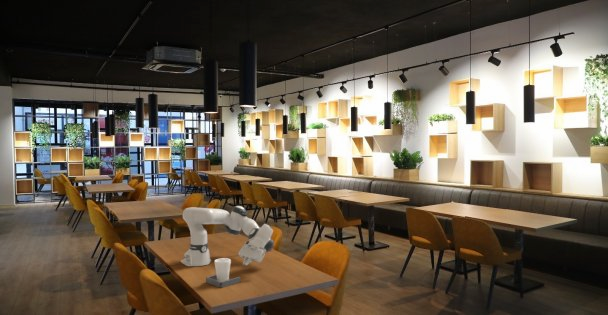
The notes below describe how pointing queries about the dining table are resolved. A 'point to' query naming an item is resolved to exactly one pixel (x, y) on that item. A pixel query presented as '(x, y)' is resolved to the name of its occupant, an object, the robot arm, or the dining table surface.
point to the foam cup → (222, 269)
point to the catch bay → (214, 282)
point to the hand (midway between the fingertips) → (244, 264)
